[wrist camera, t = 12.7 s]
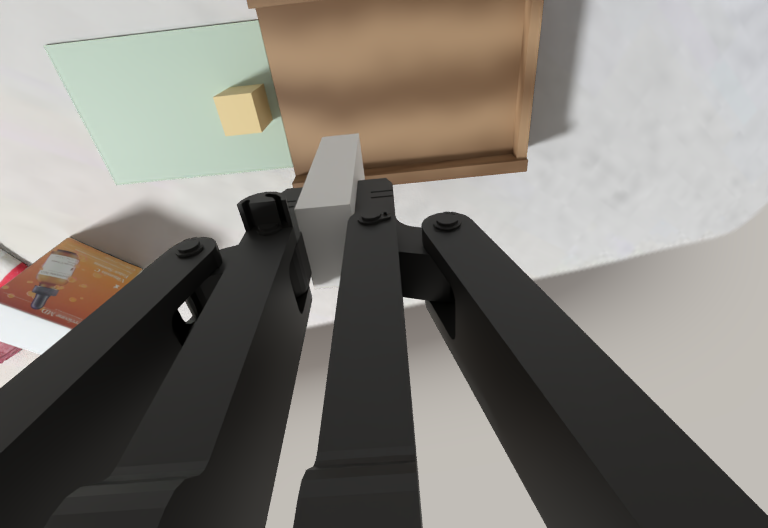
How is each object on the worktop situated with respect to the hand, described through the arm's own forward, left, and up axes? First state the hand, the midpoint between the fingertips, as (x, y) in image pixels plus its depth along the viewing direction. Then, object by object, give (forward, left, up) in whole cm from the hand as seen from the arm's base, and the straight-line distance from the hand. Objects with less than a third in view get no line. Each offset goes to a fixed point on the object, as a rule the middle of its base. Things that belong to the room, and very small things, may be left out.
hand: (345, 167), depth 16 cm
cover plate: (+1, -16, -21) cm, 27 cm away
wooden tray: (0, +3, -20) cm, 21 cm away
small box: (+16, -32, -21) cm, 41 cm away
